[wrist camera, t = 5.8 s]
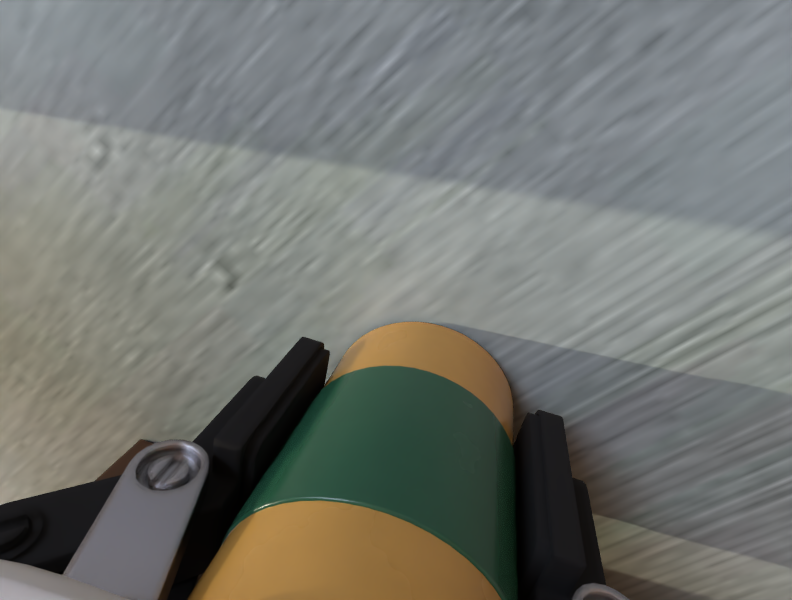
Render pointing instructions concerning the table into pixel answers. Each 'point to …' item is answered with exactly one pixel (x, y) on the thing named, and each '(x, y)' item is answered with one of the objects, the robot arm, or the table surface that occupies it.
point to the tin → (386, 483)
